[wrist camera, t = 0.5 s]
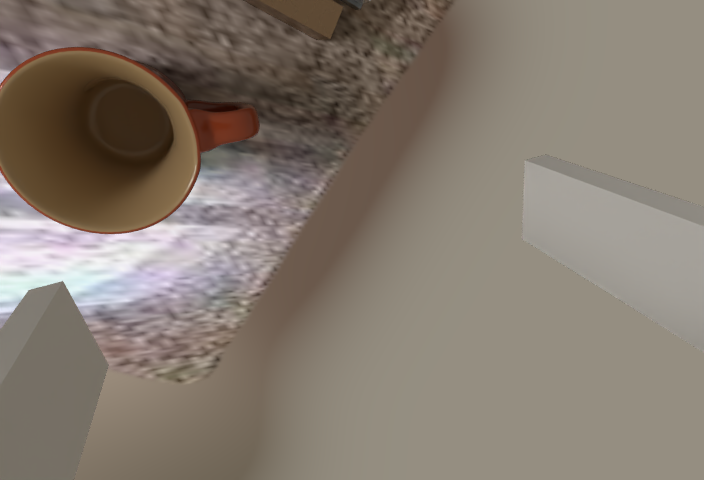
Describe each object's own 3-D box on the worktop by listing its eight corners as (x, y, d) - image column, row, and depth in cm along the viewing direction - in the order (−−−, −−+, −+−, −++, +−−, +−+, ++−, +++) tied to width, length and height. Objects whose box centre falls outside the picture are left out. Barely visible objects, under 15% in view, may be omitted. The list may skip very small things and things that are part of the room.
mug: (87, 189, 30) (34, 250, 21) (37, 53, 26) (-53, 57, 17) (259, 162, 33) (277, 207, 24) (236, 36, 29) (247, 32, 20)
